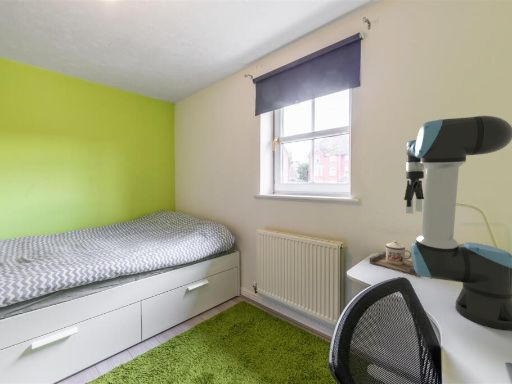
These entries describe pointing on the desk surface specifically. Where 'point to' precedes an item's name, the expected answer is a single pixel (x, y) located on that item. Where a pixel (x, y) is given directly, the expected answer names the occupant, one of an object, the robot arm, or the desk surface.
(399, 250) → the teacup with lid
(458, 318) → the desk surface
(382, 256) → the rail board
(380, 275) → the desk surface
